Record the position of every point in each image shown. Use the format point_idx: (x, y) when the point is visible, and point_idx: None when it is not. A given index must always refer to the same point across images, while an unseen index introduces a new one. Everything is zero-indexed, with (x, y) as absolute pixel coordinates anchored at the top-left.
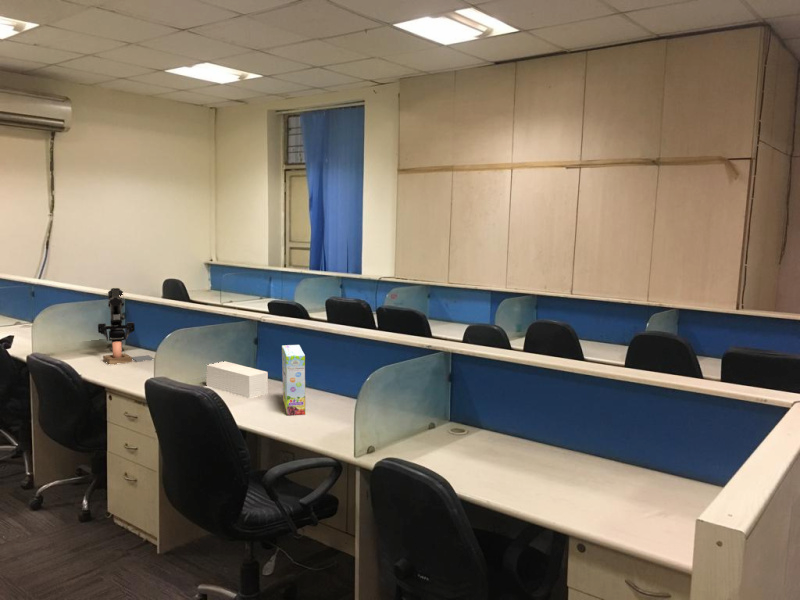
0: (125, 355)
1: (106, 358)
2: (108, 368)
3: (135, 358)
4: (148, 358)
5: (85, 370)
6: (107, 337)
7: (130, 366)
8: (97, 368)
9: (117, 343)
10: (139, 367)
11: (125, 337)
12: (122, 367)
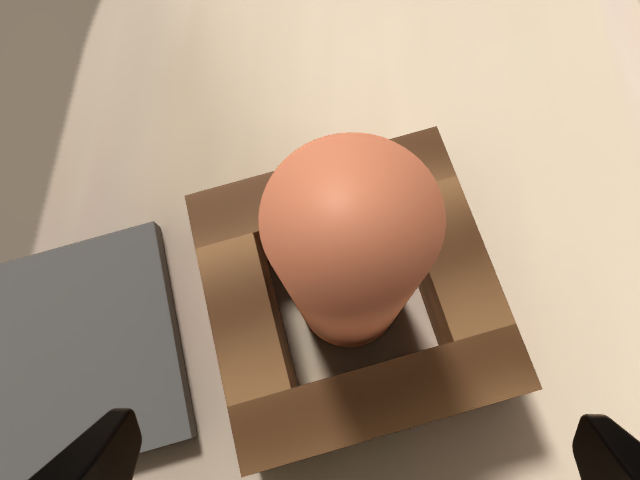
0: (245, 313)
1: (479, 240)
2: (427, 29)
3: (142, 337)
4: (8, 292)
5: (626, 5)
6: (638, 461)
7: (235, 55)
8: (528, 52)
9: (339, 141)
10: (166, 3)
11: (112, 433)
12: (305, 36)
